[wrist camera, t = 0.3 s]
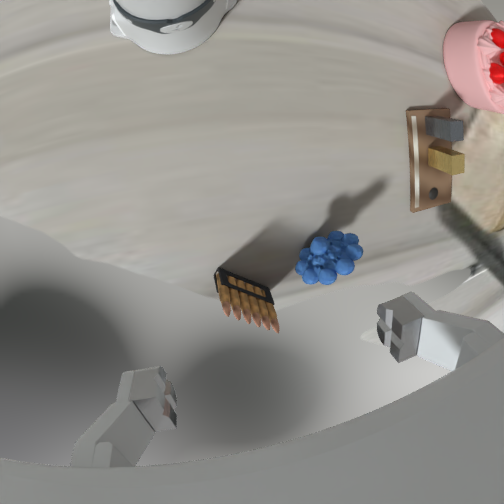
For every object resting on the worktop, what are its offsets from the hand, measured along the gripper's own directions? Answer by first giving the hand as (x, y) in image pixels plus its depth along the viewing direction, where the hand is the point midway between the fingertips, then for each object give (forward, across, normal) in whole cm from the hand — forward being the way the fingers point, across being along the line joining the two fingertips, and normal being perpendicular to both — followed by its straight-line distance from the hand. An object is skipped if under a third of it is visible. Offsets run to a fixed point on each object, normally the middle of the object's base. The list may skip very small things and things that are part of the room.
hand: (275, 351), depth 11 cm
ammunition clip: (+42, 0, +19) cm, 46 cm away
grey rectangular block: (+39, -41, -4) cm, 56 cm away
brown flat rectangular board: (+39, -41, +3) cm, 57 cm away
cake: (+37, -57, -17) cm, 70 cm away
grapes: (+41, -14, +14) cm, 45 cm away
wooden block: (+38, -41, +2) cm, 56 cm away
